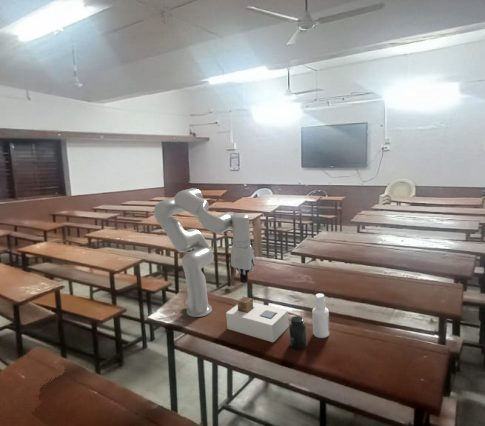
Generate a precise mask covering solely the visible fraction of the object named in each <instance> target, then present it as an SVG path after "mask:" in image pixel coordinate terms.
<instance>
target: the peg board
mask: <svg viewBox="0 0 485 426" xmlns="http://www.w3.org/2000/svg"><path fill="white" fill-rule="evenodd" d="M266 310H268V311H272V312H276V315H275V316H274V317H273V318H272V319H268V318H264V317H261V316H260V315H261V314H262V313H264V312H265V311H266ZM225 315H226V316H225V317H226V325H227V330H230V331H233V332H237V333H241V334H243V335H247V336H250V337H254V338H257V339H260V340H264V341H266V342H270V343H274V342H276V341H277V340H278V338H279V337H281V335H282V334H283V333H284V332H285V331H286V330H287V329H289V325H290V322H289V310H287V309H283V308H279V307H275V306H271V305H266V304H263V303H262V304H261V303H260V302H259V303H257V302H254V301H253V309H252V310H251V311H250V312H248V313H245V312H241V311H238V304H237V303H236V305H235V306H233V307H231V309H229V310H228V311H226V312H225Z"/></svg>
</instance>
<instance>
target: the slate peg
mask: <svg viewBox="0 0 485 426" xmlns="http://www.w3.org/2000/svg"><path fill="white" fill-rule="evenodd" d="M275 315H276V312H272V311H268V310H266V311H265V312H264V313H262V314H261V315H260V316H261V317H264V318H268V319H272V318H273V317H274V316H275Z"/></svg>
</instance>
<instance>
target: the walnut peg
mask: <svg viewBox="0 0 485 426" xmlns="http://www.w3.org/2000/svg"><path fill="white" fill-rule="evenodd" d="M253 302H254V301H253V298H251V297H247V296H242V297H240V298H239V299H238V300H237V302H236V305H237V304H238V311H241V312H245V313H248V312H250V311H251V310H252V309H253Z"/></svg>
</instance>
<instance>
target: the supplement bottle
mask: <svg viewBox="0 0 485 426" xmlns="http://www.w3.org/2000/svg"><path fill="white" fill-rule="evenodd" d="M290 320H291V321H290V323H289V327H288V333H289V335H288V336H289V337H288V338H289V345H290V347H291V348H292V349H293V350H299V351H300V350H303V349H305V348H306V346H307V327H306V324H304V318H303V317H302V316H300V315H299V316H298V315H295V316H292V317H291V318H290Z"/></svg>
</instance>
